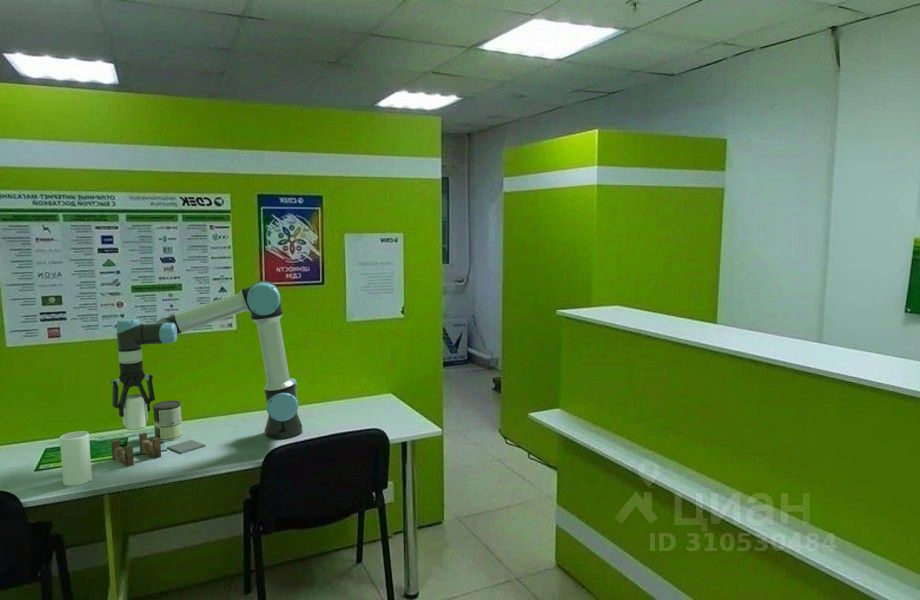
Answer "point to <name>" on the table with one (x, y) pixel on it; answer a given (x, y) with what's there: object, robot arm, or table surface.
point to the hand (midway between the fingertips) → (135, 422)
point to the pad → (186, 446)
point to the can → (135, 412)
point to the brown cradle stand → (126, 454)
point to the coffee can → (167, 420)
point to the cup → (75, 458)
